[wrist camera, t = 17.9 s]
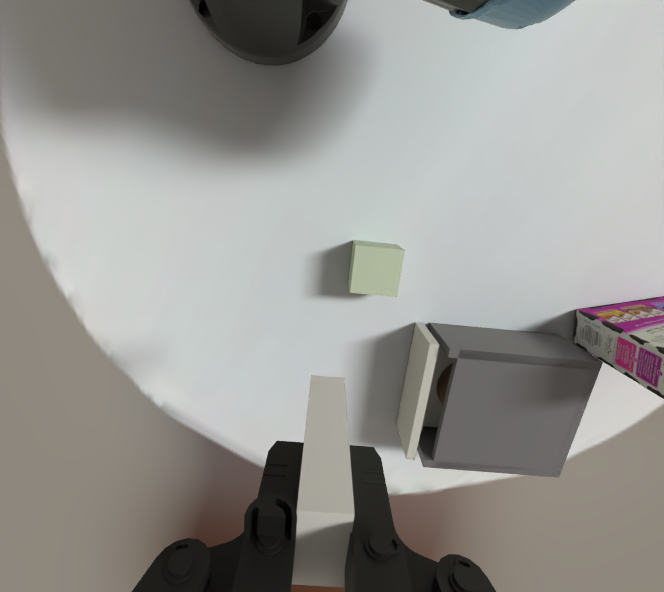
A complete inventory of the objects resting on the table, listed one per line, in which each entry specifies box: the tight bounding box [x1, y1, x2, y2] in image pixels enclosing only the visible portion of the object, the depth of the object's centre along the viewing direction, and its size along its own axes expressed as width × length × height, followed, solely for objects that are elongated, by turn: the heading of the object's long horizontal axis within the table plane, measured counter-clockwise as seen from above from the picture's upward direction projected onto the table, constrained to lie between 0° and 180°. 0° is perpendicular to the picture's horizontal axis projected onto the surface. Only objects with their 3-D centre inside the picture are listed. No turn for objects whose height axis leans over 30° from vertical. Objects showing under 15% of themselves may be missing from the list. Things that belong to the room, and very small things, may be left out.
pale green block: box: [348, 240, 405, 297], centre depth 36 cm, size 5×5×4 cm
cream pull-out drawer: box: [396, 323, 454, 460], centre depth 39 cm, size 16×15×6 cm
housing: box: [417, 323, 603, 477], centre depth 39 cm, size 16×15×7 cm
